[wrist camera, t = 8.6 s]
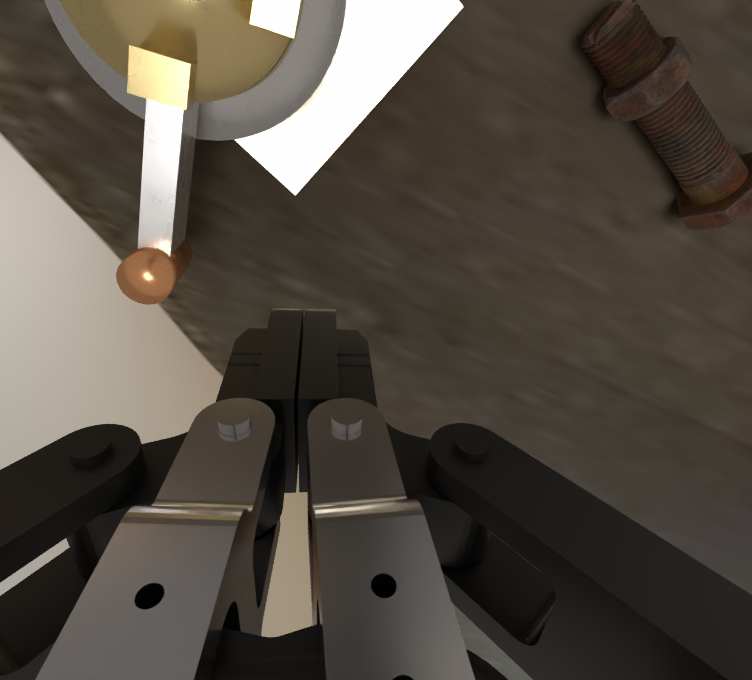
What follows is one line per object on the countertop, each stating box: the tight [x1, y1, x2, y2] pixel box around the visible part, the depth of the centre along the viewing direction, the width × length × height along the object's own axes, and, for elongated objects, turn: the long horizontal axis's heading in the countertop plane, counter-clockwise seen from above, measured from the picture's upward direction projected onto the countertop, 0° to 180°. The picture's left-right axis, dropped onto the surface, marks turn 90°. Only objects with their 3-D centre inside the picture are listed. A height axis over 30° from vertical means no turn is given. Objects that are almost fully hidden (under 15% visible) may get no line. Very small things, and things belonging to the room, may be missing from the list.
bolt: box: [581, 0, 752, 231], centre depth 29 cm, size 6×5×15 cm
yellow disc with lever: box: [59, 0, 304, 304], centre depth 22 cm, size 20×10×4 cm, turn 164°
